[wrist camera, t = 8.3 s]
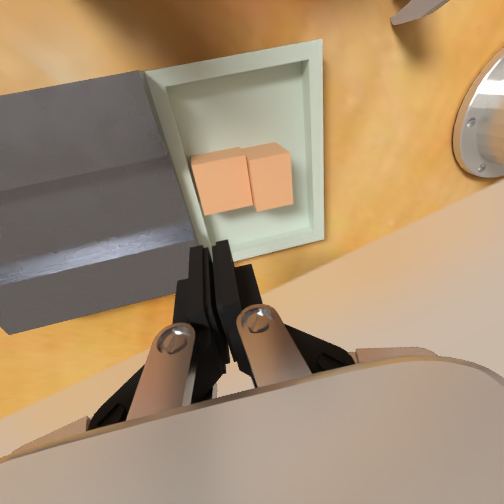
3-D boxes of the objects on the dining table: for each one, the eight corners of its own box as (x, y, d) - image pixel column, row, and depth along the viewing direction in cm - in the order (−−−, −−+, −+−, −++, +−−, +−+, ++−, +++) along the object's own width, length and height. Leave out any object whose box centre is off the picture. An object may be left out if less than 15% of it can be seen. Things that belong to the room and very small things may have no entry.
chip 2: (240, 148, 22) (275, 141, 23) (247, 194, 25) (279, 187, 25) (249, 160, 19) (290, 152, 19) (256, 211, 21) (293, 203, 22)
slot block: (147, 72, 19) (138, 70, 15) (205, 257, 28) (208, 284, 24) (-115, 121, 18) (-196, 131, 14) (33, 299, 26) (8, 335, 23)
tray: (311, 42, 20) (322, 38, 18) (316, 230, 29) (324, 239, 27) (147, 72, 19) (144, 71, 17) (205, 257, 28) (206, 268, 26)
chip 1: (238, 146, 22) (245, 154, 20) (246, 192, 25) (253, 205, 22) (190, 156, 22) (191, 165, 19) (202, 201, 24) (204, 215, 22)
